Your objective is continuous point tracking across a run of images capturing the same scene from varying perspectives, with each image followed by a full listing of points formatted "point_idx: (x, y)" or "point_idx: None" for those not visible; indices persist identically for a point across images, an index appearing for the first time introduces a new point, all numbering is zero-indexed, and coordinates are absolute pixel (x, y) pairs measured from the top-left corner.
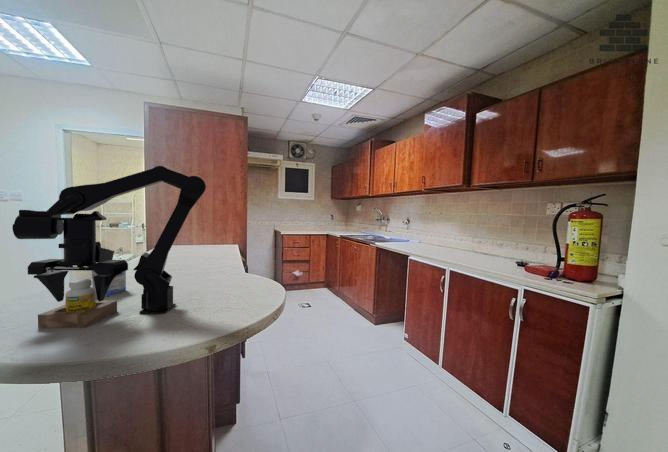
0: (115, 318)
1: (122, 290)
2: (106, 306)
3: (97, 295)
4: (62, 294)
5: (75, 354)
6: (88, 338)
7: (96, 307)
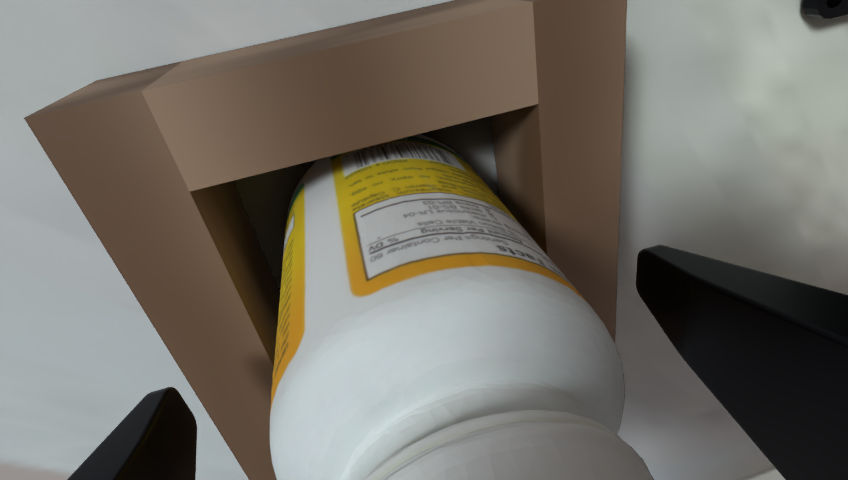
0: (651, 147)
1: None
2: (611, 170)
3: (704, 369)
4: (157, 468)
5: (717, 461)
6: (678, 385)
7: (573, 255)
